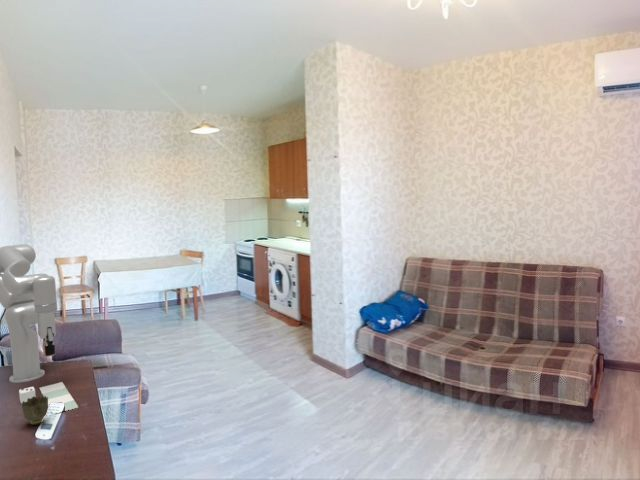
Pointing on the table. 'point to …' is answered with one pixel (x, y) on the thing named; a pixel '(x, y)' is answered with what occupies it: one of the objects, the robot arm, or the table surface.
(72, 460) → the table surface
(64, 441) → the table surface
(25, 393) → the die
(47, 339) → the pawn
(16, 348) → the robot arm
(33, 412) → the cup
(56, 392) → the board
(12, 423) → the table surface
